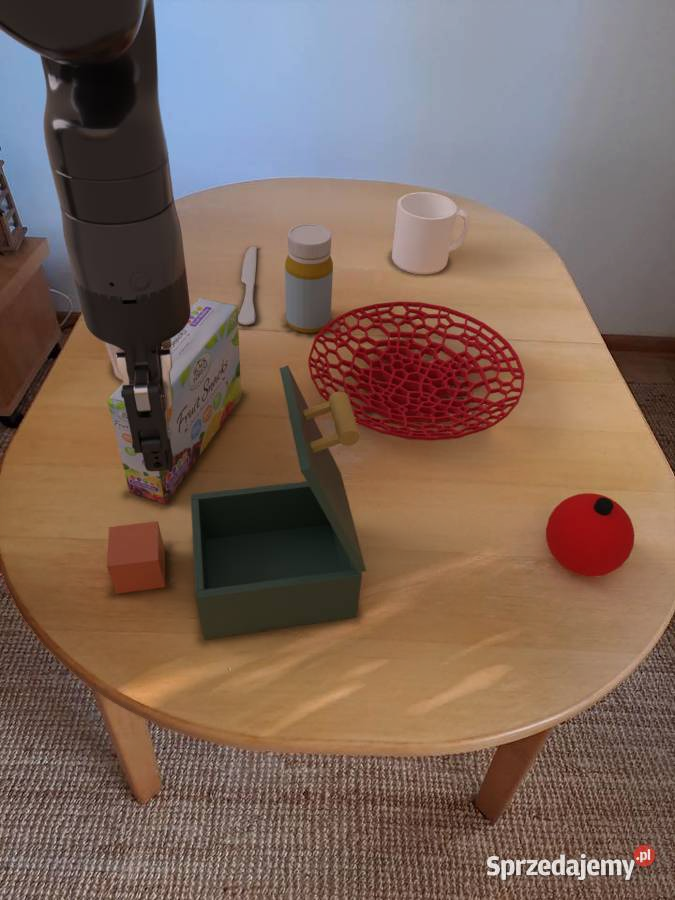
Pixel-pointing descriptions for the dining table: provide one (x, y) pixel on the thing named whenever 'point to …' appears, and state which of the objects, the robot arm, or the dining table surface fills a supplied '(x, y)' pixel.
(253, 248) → the butter knife
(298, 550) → the chest
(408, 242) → the mug
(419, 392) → the bowl
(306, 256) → the bottle
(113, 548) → the block
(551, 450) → the dining table surface
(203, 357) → the snack box
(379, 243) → the dining table surface
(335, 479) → the lid
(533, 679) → the dining table surface
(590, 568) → the ornament
